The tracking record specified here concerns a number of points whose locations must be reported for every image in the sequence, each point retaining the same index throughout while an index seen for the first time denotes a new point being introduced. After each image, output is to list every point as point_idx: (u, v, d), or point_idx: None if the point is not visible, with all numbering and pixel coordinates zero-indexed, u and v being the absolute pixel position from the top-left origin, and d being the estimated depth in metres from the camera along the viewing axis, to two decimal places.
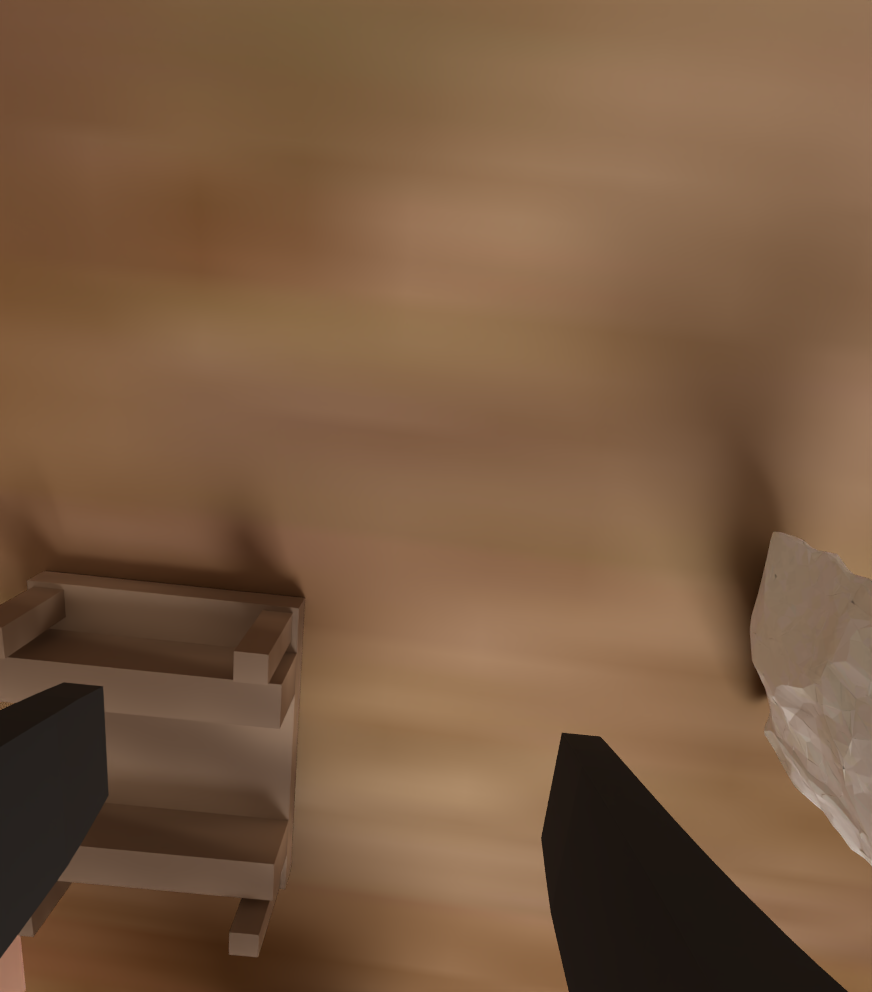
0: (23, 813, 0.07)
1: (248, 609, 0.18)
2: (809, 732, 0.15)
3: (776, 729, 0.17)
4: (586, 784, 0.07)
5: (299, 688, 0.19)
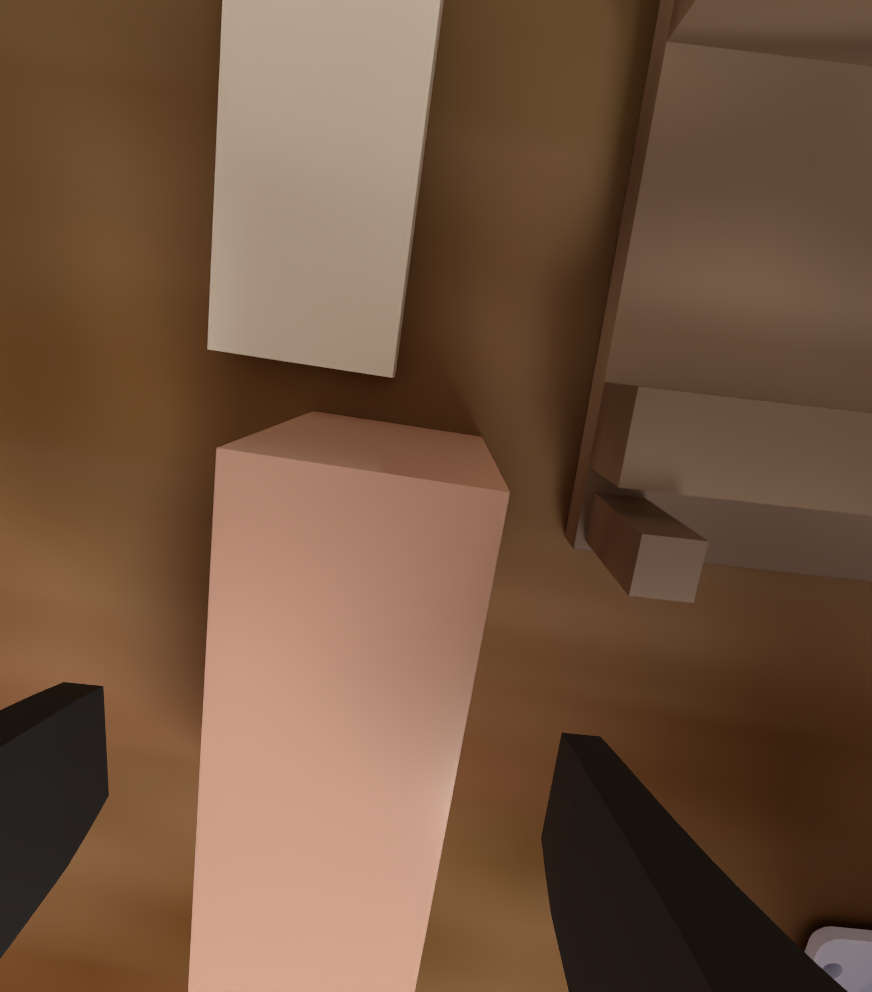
0: (23, 813, 0.07)
1: None
2: None
3: None
4: (586, 784, 0.07)
5: None
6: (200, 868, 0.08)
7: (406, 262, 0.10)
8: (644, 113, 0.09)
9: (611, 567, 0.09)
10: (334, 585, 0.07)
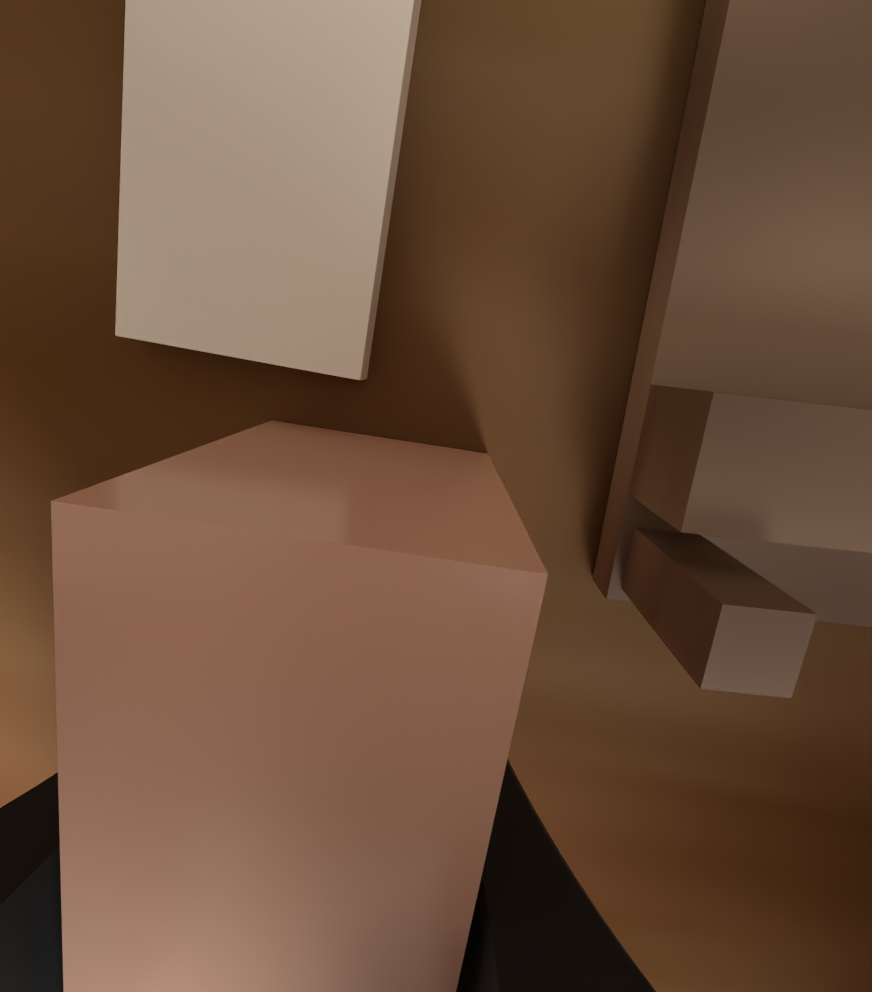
0: None
1: None
2: None
3: None
4: None
5: None
6: None
7: (381, 226, 0.07)
8: (709, 21, 0.07)
9: (667, 637, 0.07)
10: (260, 719, 0.04)
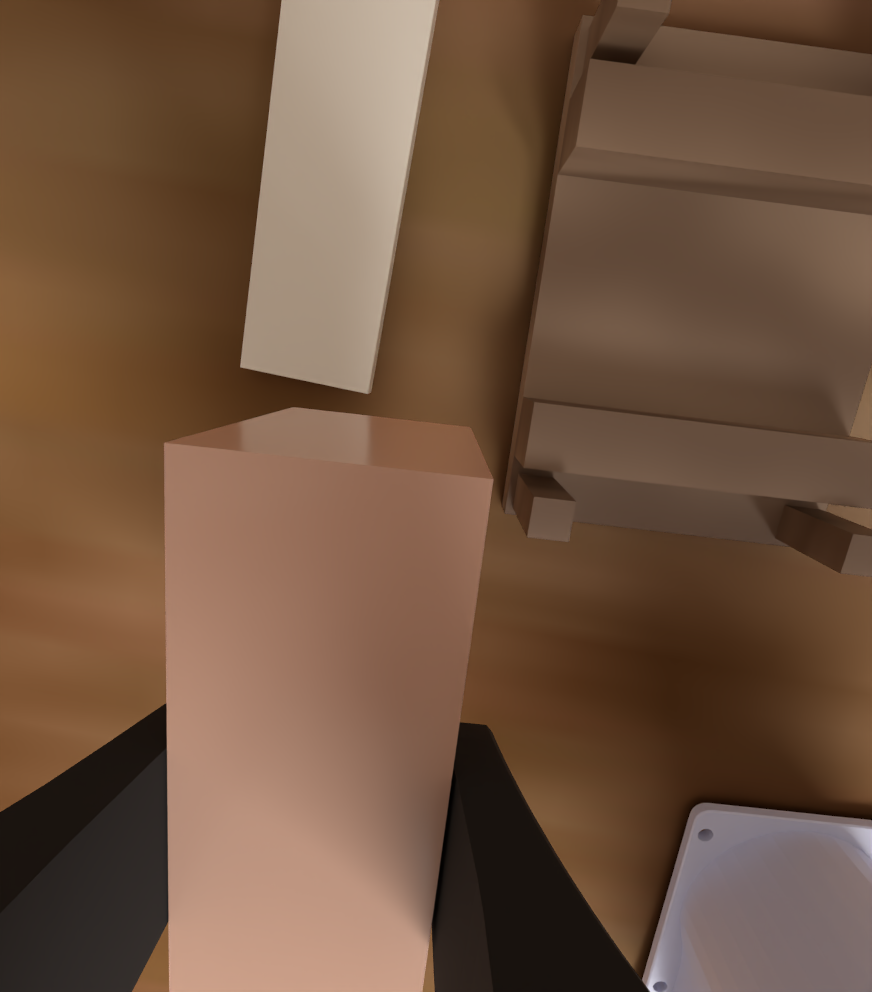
0: (163, 827, 0.07)
1: None
2: None
3: None
4: None
5: None
6: (174, 907, 0.07)
7: (380, 316, 0.14)
8: (548, 216, 0.14)
9: (521, 521, 0.14)
10: (303, 591, 0.06)
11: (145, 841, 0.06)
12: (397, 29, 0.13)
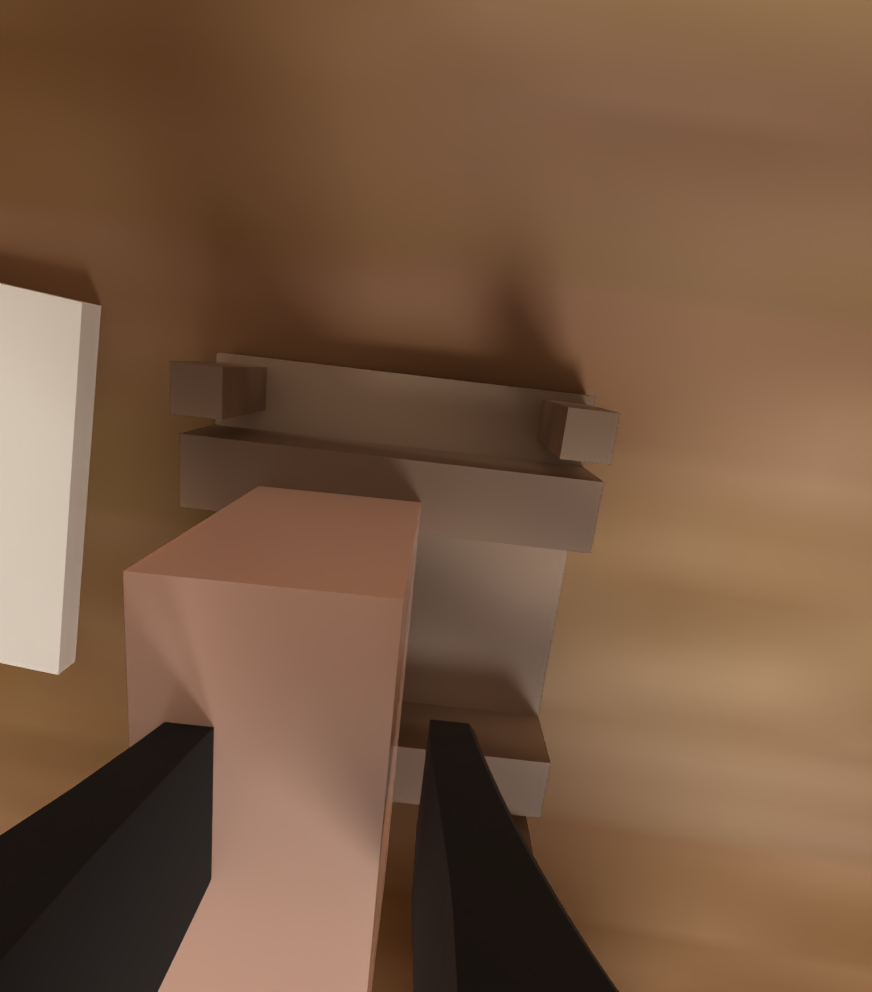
0: (187, 829, 0.07)
1: (523, 398, 0.13)
2: None
3: None
4: (431, 769, 0.07)
5: None
6: None
7: (63, 607, 0.14)
8: None
9: None
10: (245, 691, 0.07)
11: (170, 844, 0.06)
12: (45, 363, 0.13)
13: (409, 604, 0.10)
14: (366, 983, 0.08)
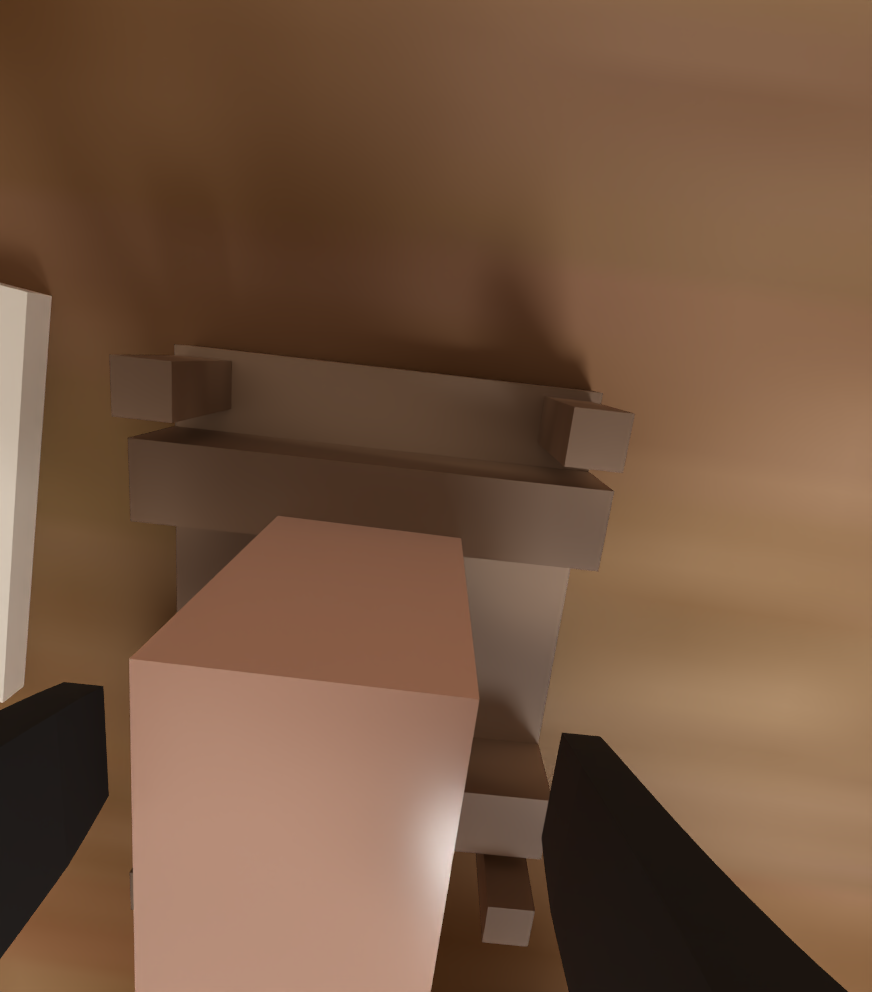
0: (23, 813, 0.07)
1: (522, 395, 0.11)
2: None
3: None
4: (586, 784, 0.07)
5: None
6: None
7: (8, 629, 0.13)
8: None
9: None
10: (278, 801, 0.06)
11: None
12: None
13: None
14: None
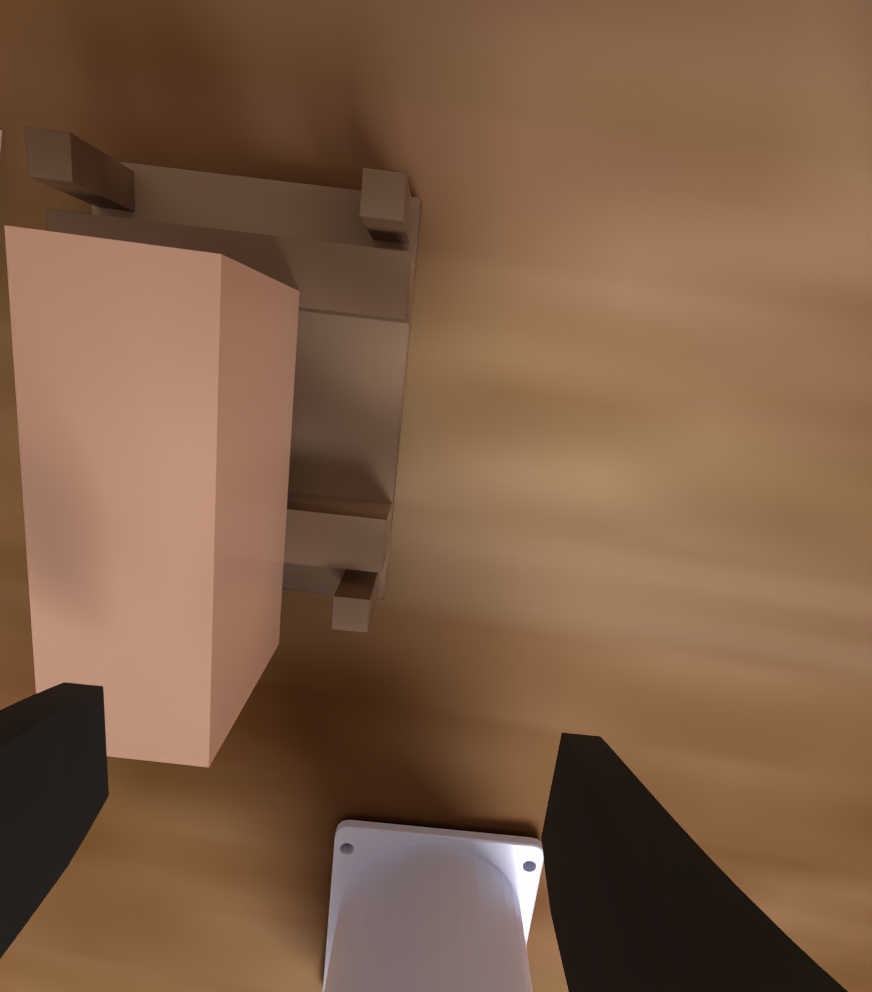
0: (23, 813, 0.07)
1: (358, 200, 0.15)
2: None
3: None
4: (586, 784, 0.07)
5: (409, 332, 0.16)
6: (32, 581, 0.10)
7: None
8: None
9: None
10: (104, 335, 0.09)
11: None
12: None
13: (274, 352, 0.12)
14: (211, 605, 0.10)
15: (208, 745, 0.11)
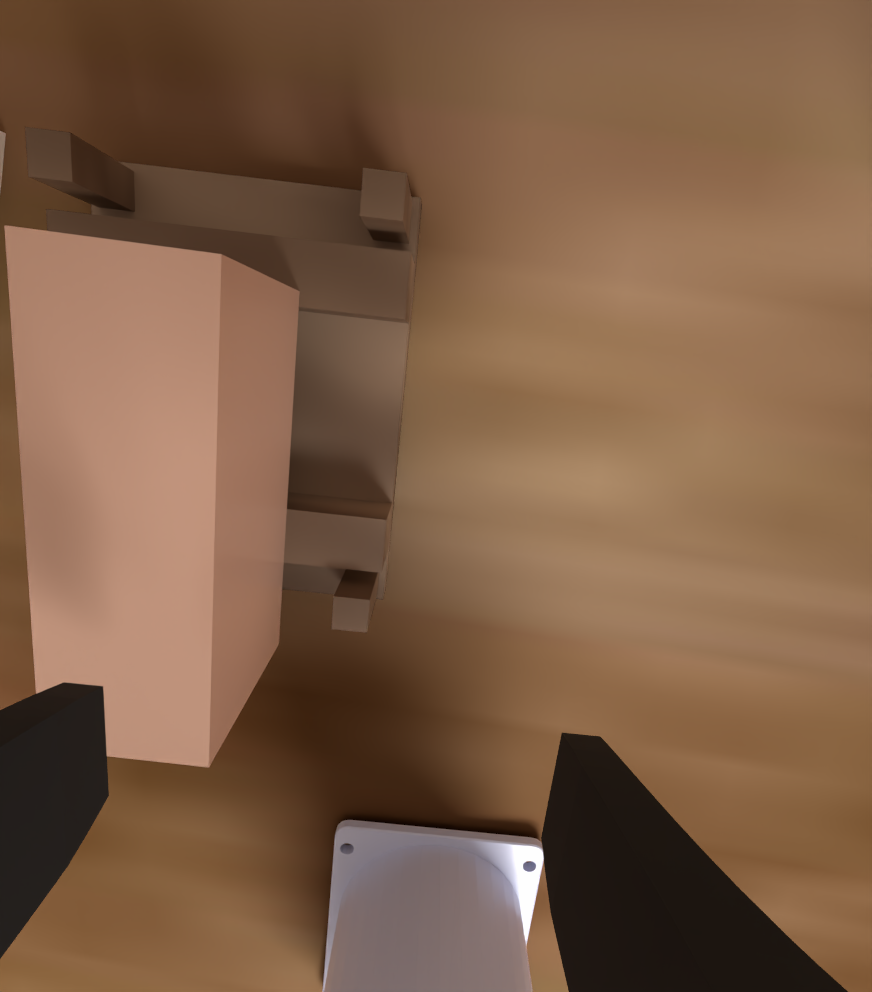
0: (23, 813, 0.07)
1: (358, 200, 0.15)
2: None
3: None
4: (586, 784, 0.07)
5: (409, 332, 0.16)
6: (32, 581, 0.10)
7: None
8: None
9: None
10: (104, 335, 0.09)
11: None
12: None
13: (274, 352, 0.12)
14: (211, 605, 0.10)
15: (208, 745, 0.11)
